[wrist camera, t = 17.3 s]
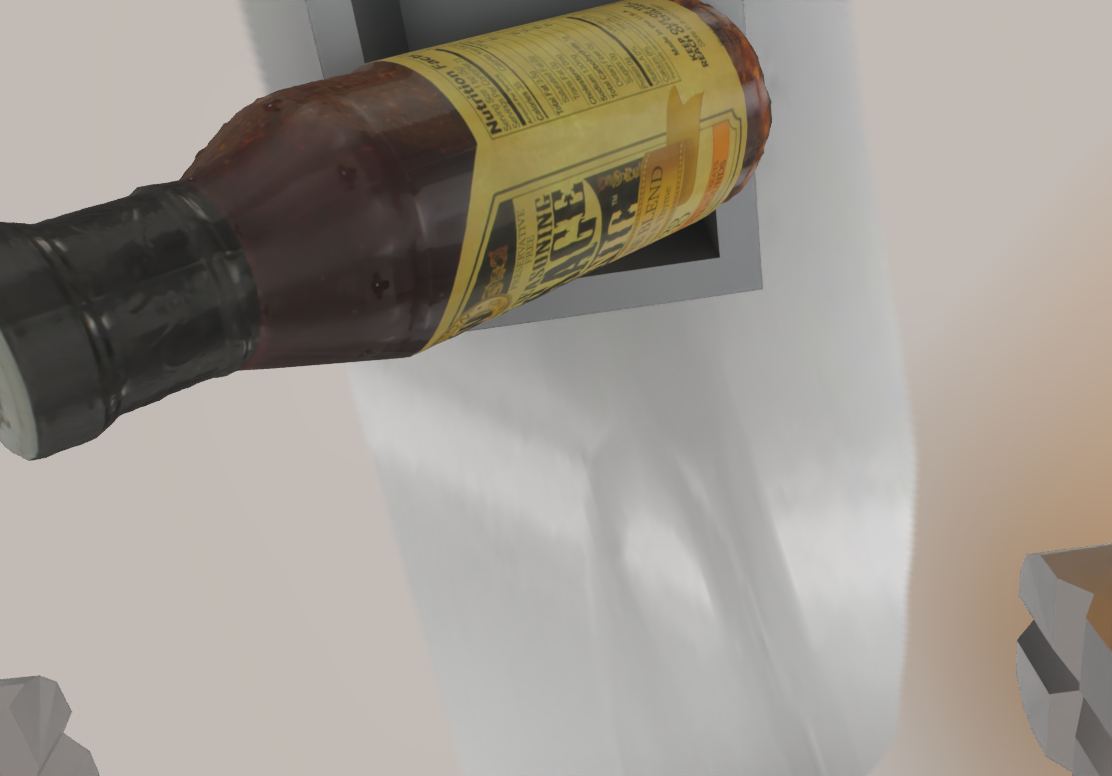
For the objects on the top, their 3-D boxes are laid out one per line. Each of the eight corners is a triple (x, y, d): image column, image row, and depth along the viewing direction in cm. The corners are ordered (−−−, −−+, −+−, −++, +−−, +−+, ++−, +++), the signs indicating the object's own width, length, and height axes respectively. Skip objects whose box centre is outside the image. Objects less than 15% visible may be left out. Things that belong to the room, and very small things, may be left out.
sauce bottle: (689, 242, 32) (44, 568, 21) (582, 70, 33) (-113, 297, 21) (837, 127, 27) (83, 479, 16) (707, -78, 27) (-127, 119, 16)
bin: (714, 197, 41) (762, 289, 32) (420, 241, 42) (386, 342, 33) (684, -159, 36) (731, -168, 27) (346, -103, 36) (283, -94, 27)
